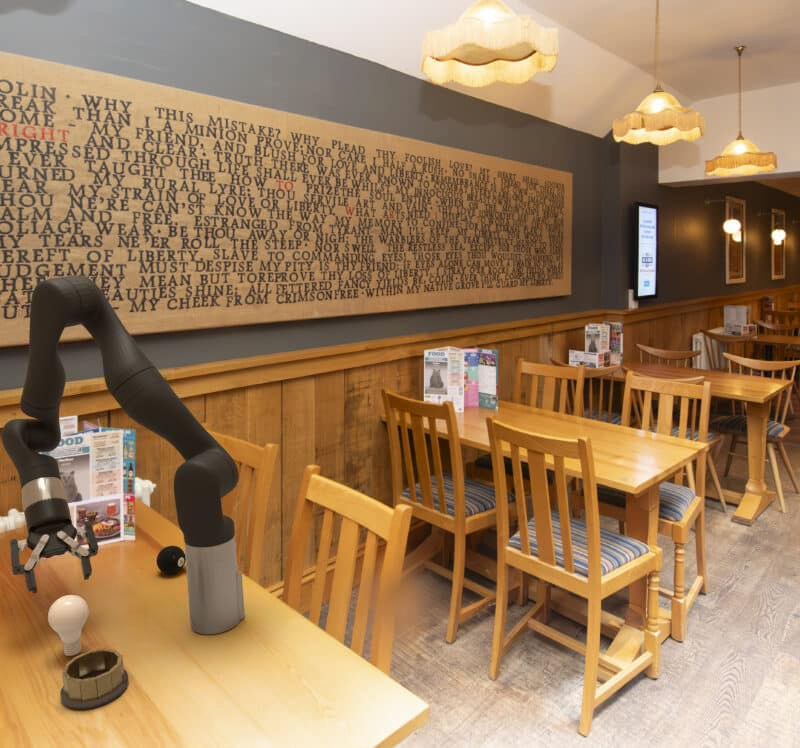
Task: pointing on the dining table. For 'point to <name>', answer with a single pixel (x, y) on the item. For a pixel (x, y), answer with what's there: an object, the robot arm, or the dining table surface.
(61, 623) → the lightbulb
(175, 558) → the billiard ball
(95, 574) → the dining table surface
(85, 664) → the bulb holder
